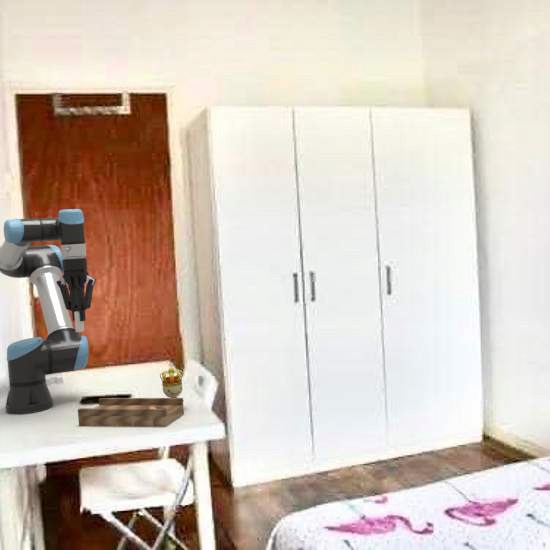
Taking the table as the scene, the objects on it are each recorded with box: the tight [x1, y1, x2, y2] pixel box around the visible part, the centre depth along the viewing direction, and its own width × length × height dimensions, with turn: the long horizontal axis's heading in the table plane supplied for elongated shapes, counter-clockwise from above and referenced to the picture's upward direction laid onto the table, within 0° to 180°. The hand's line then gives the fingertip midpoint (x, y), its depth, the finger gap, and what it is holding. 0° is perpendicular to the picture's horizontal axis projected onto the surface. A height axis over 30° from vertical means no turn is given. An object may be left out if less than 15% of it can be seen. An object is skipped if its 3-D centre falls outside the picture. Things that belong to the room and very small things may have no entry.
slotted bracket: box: [46, 373, 64, 386], centre depth 278 cm, size 13×7×8 cm, turn 24°
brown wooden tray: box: [77, 397, 185, 428], centre depth 210 cm, size 28×14×5 cm, turn 76°
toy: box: [159, 362, 184, 403], centre depth 219 cm, size 7×7×15 cm
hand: (80, 331), depth 221 cm, fingers closed
